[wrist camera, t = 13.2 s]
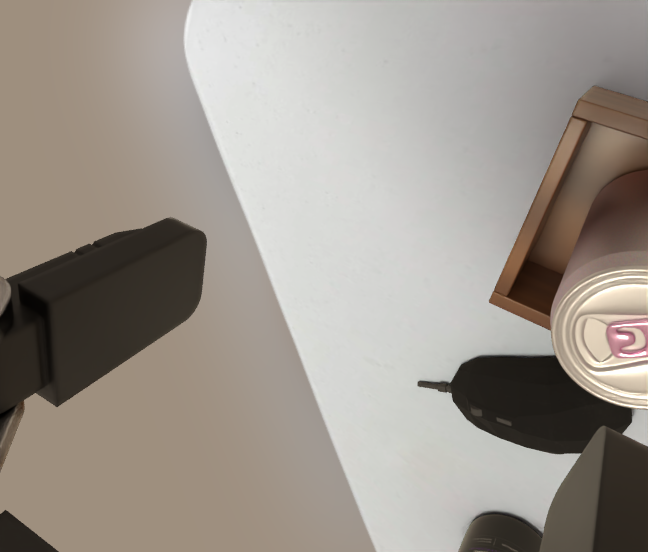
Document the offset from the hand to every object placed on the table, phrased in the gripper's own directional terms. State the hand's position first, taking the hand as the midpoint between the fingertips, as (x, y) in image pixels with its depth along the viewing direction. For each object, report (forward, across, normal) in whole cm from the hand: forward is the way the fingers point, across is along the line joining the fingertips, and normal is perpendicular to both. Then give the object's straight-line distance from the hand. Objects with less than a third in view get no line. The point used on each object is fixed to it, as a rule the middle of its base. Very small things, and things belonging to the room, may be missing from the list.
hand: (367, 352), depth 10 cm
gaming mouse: (+27, -5, +19) cm, 33 cm away
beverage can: (+27, -6, +4) cm, 28 cm away
